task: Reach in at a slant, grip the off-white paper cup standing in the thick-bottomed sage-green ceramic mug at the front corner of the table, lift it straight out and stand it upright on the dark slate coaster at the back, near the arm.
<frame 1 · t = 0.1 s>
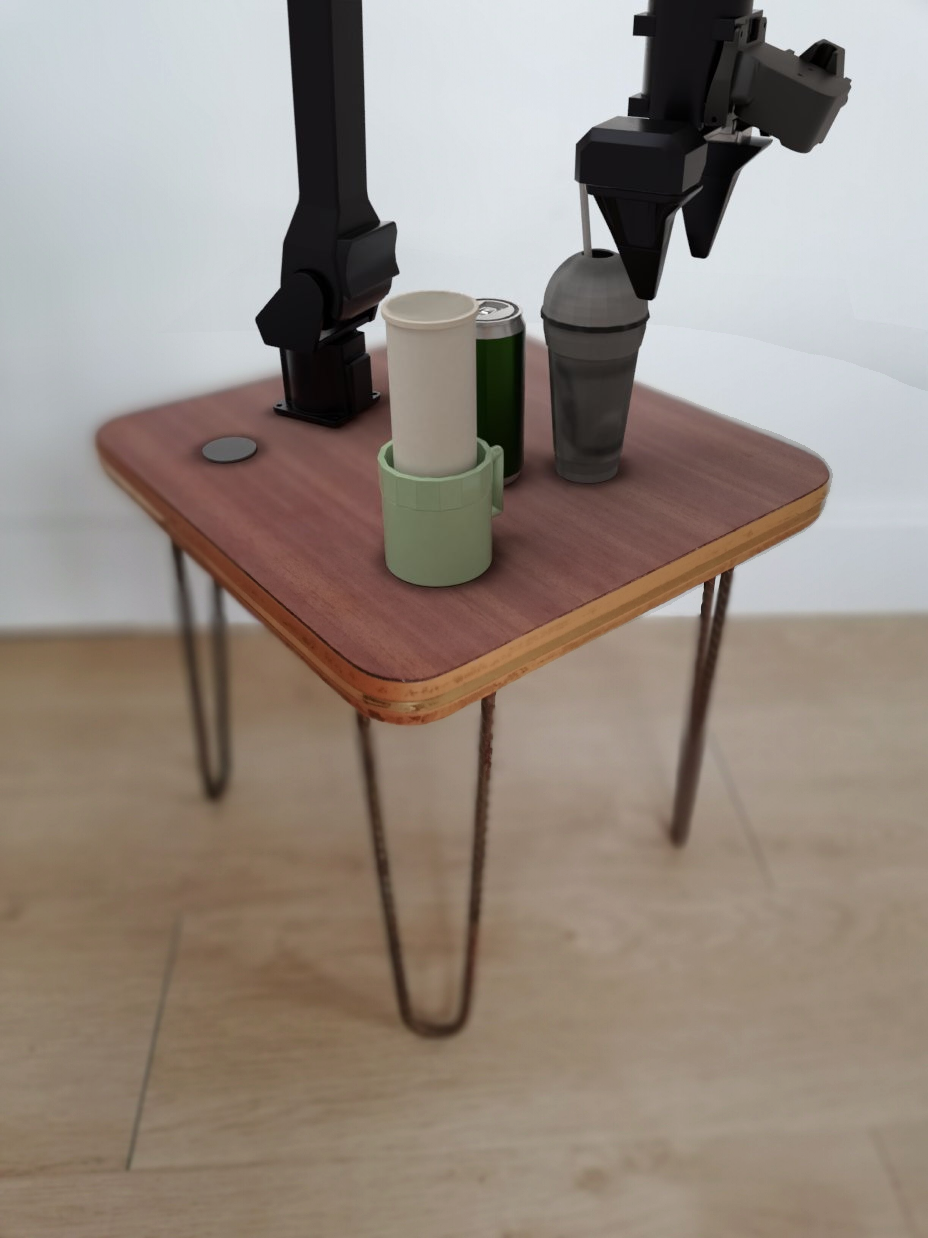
hand: (674, 277, 68), 15 cm above the table, tool pointing down, fingers open, 9 cm apart
paper cup: (430, 305, 60), point 16 cm above the table, touching mug
beer can: (486, 474, 79), on the table
coaster: (229, 450, 82), on the table
beverage cup: (586, 470, 79), on the table
mug: (438, 557, 69), on the table
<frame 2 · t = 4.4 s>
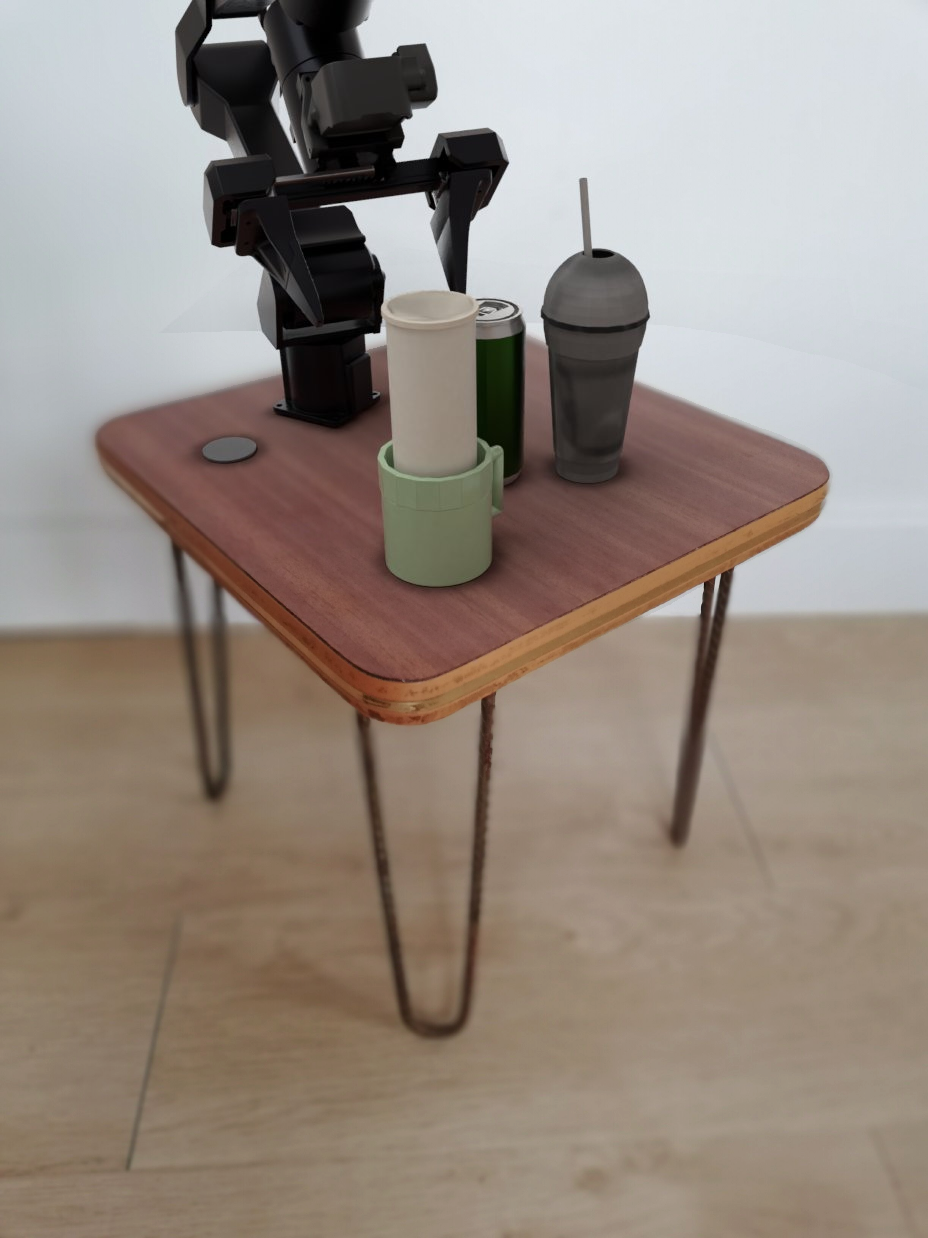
hand: (392, 312, 67), 13 cm above the table, tool tilted 45°, fingers open, 9 cm apart
nothing on the table moved.
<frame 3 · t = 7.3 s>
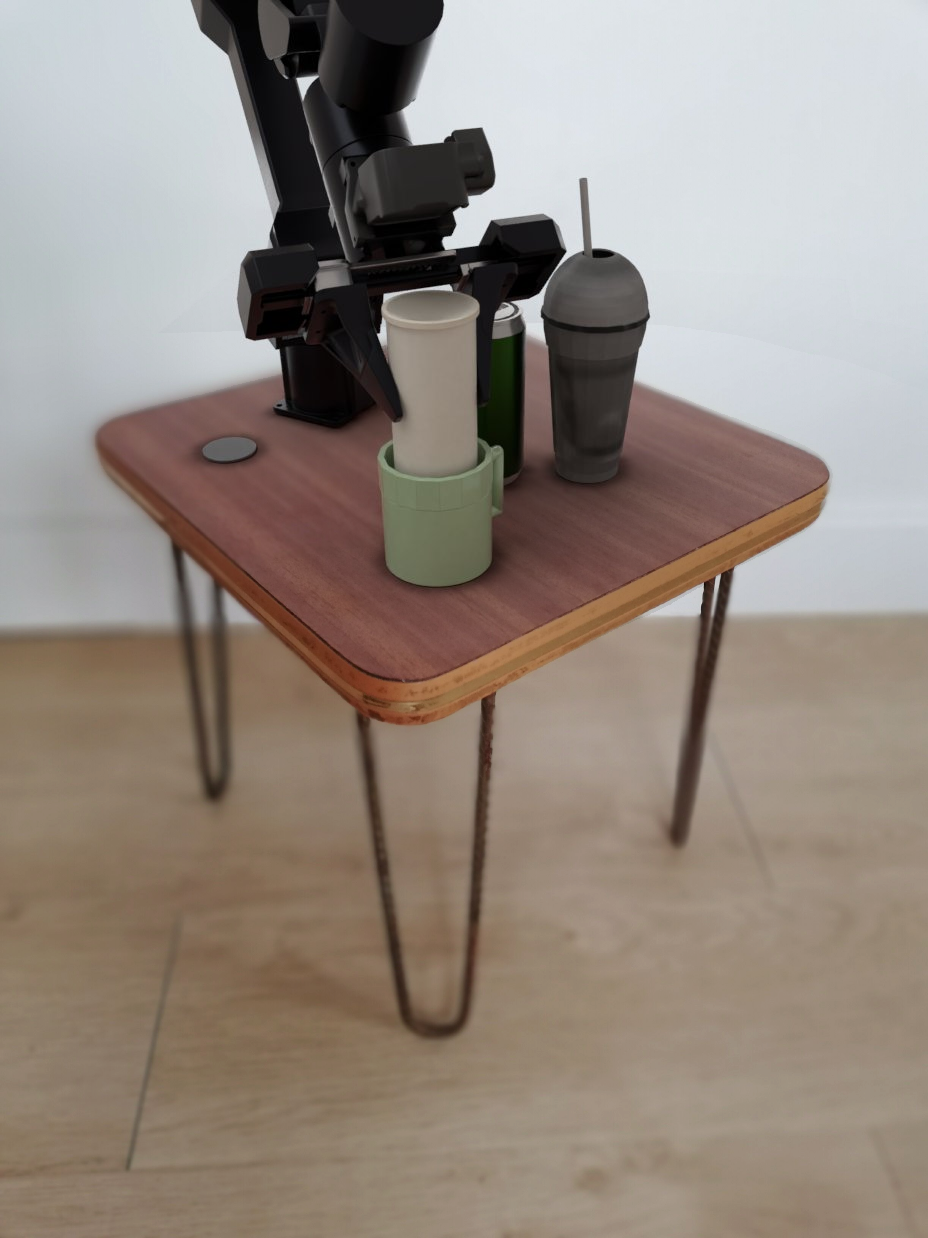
hand: (441, 411, 62), 11 cm above the table, tool tilted 45°, fingers closed on paper cup, 5 cm apart
paper cup: (430, 305, 60), point 16 cm above the table, touching gripper, mug
everything else where it was.
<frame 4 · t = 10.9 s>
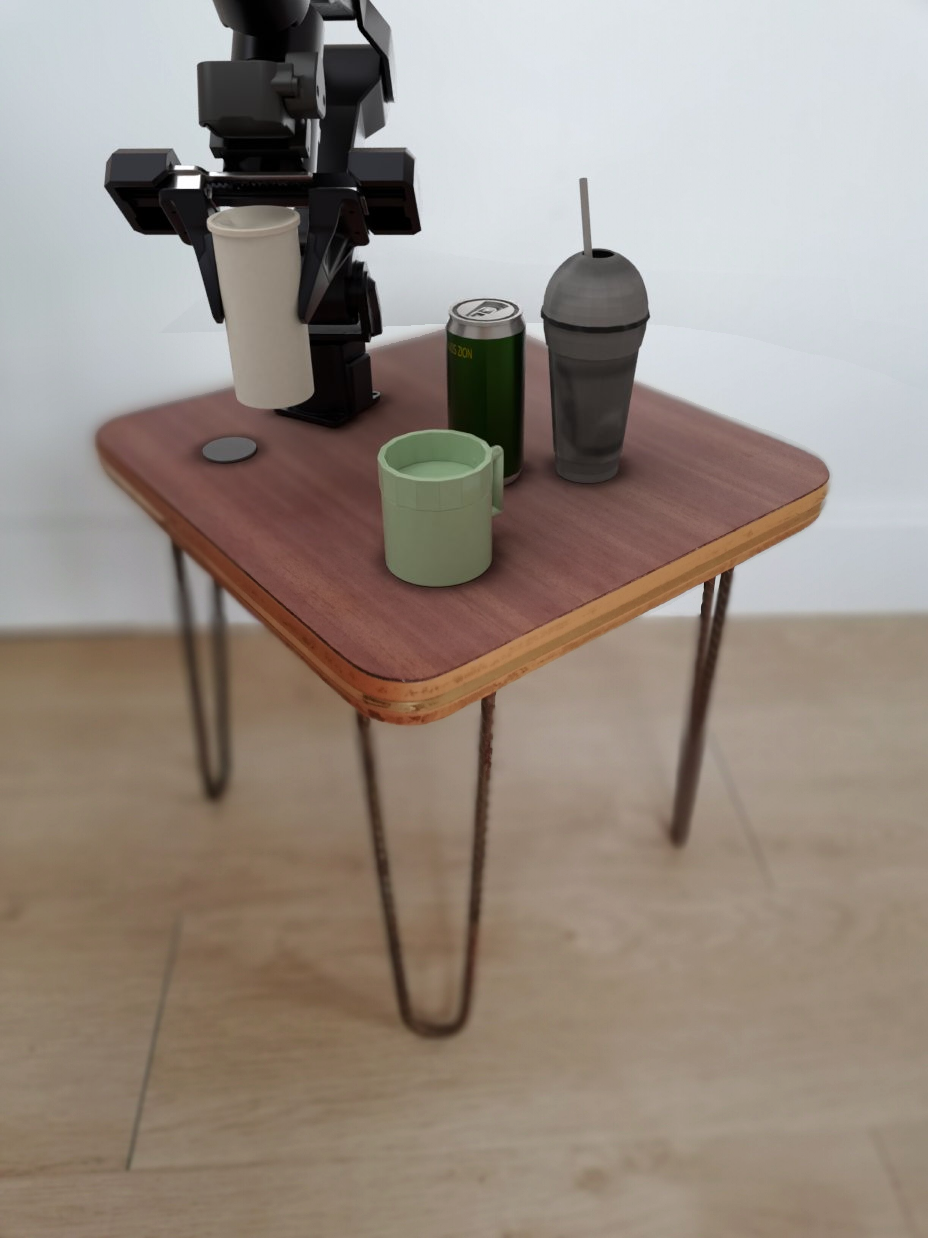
hand: (259, 320, 66), 14 cm above the table, tool tilted 45°, fingers closed on paper cup, 5 cm apart
paper cup: (253, 217, 64), point 19 cm above the table, touching gripper
everything else where it was.
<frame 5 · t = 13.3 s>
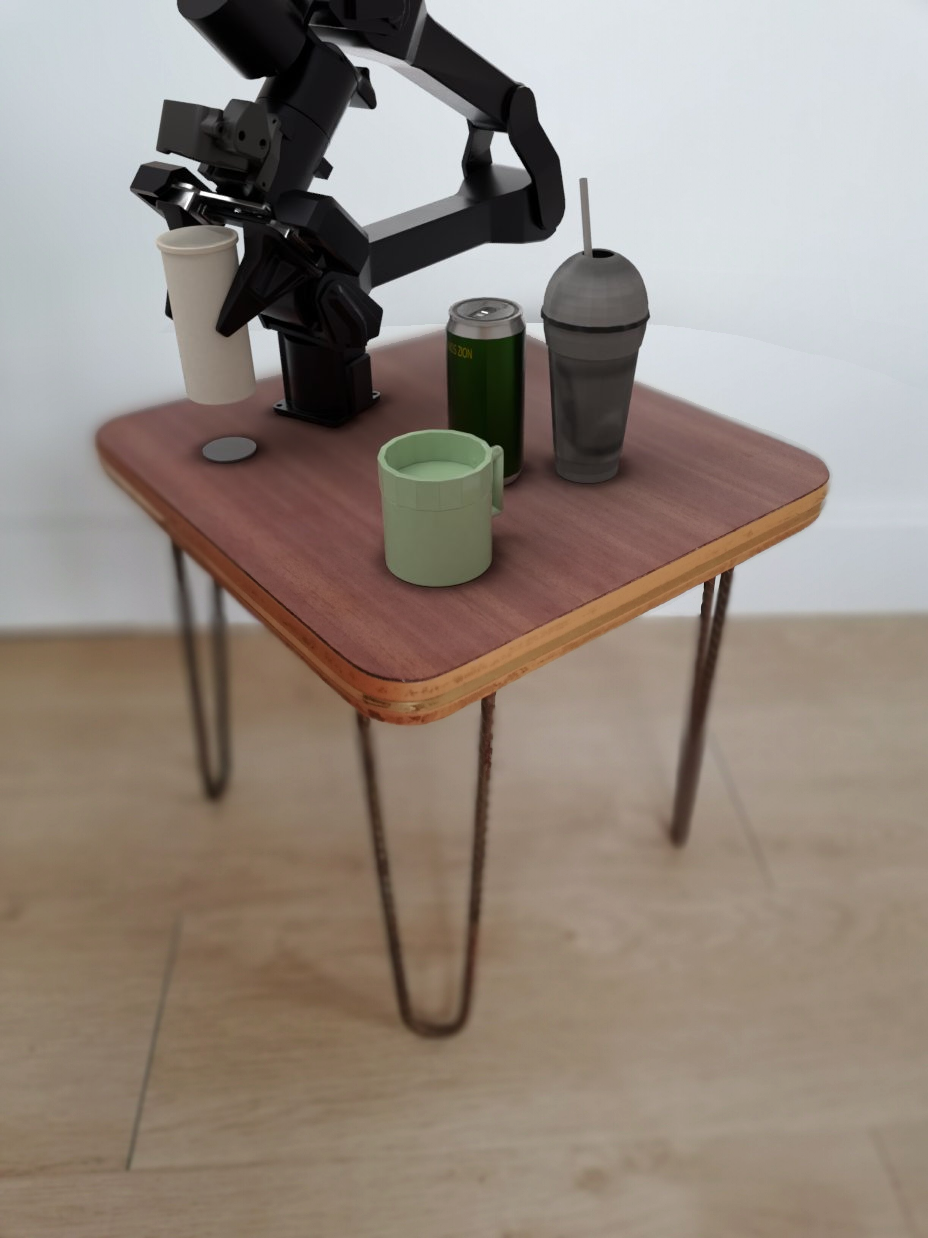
hand: (195, 326, 75), 10 cm above the table, tool tilted 45°, fingers closed on paper cup, 5 cm apart
paper cup: (197, 236, 72), point 16 cm above the table, touching gripper
everything else where it was.
when the fingers open (6 cm above the table, at t = 14.8 s): paper cup moves 1 cm, resting on coaster.
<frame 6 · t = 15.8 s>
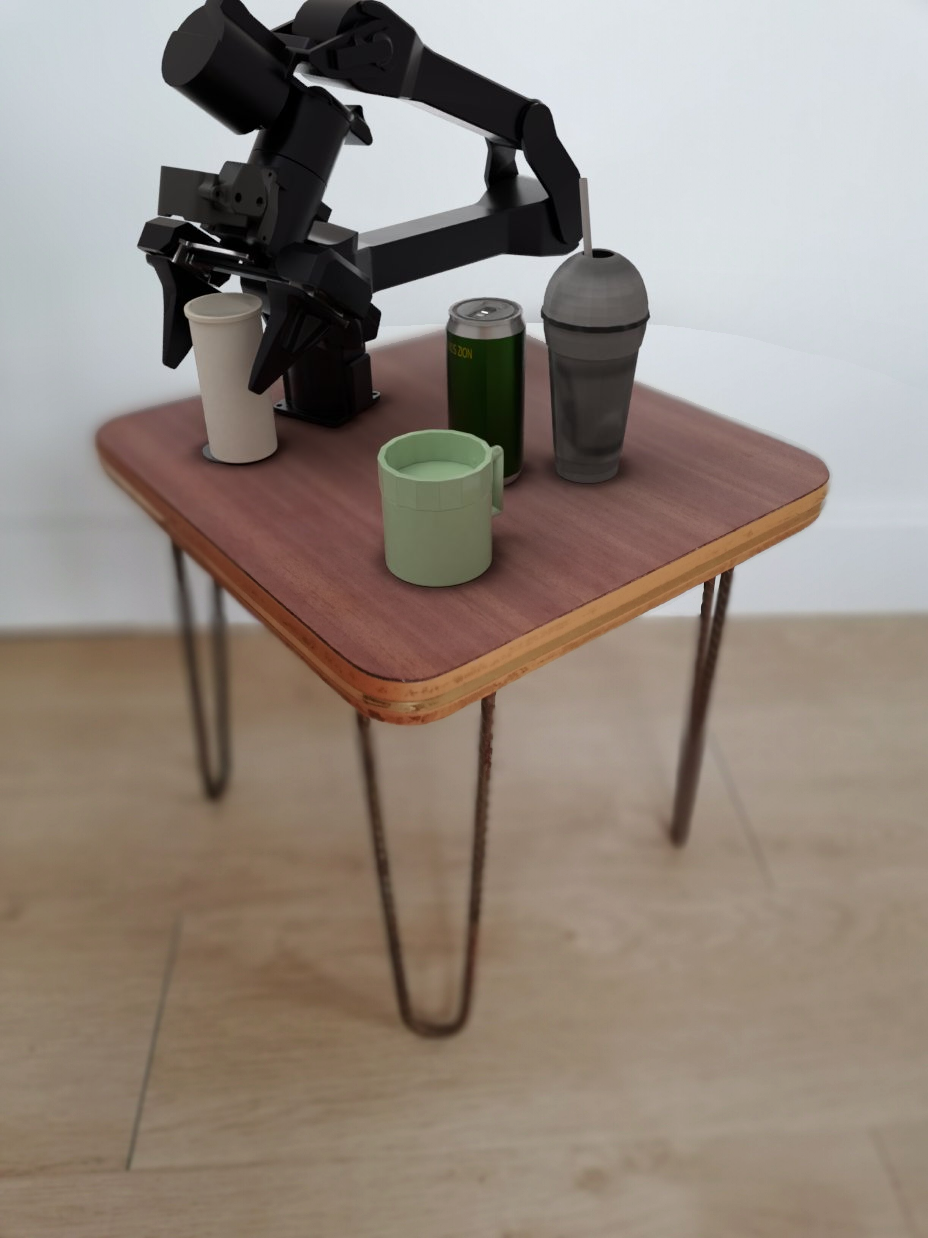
hand: (209, 379, 77), 6 cm above the table, tool tilted 40°, fingers open, 9 cm apart
paper cup: (223, 304, 76), point 11 cm above the table, touching coaster
everything else where it was.
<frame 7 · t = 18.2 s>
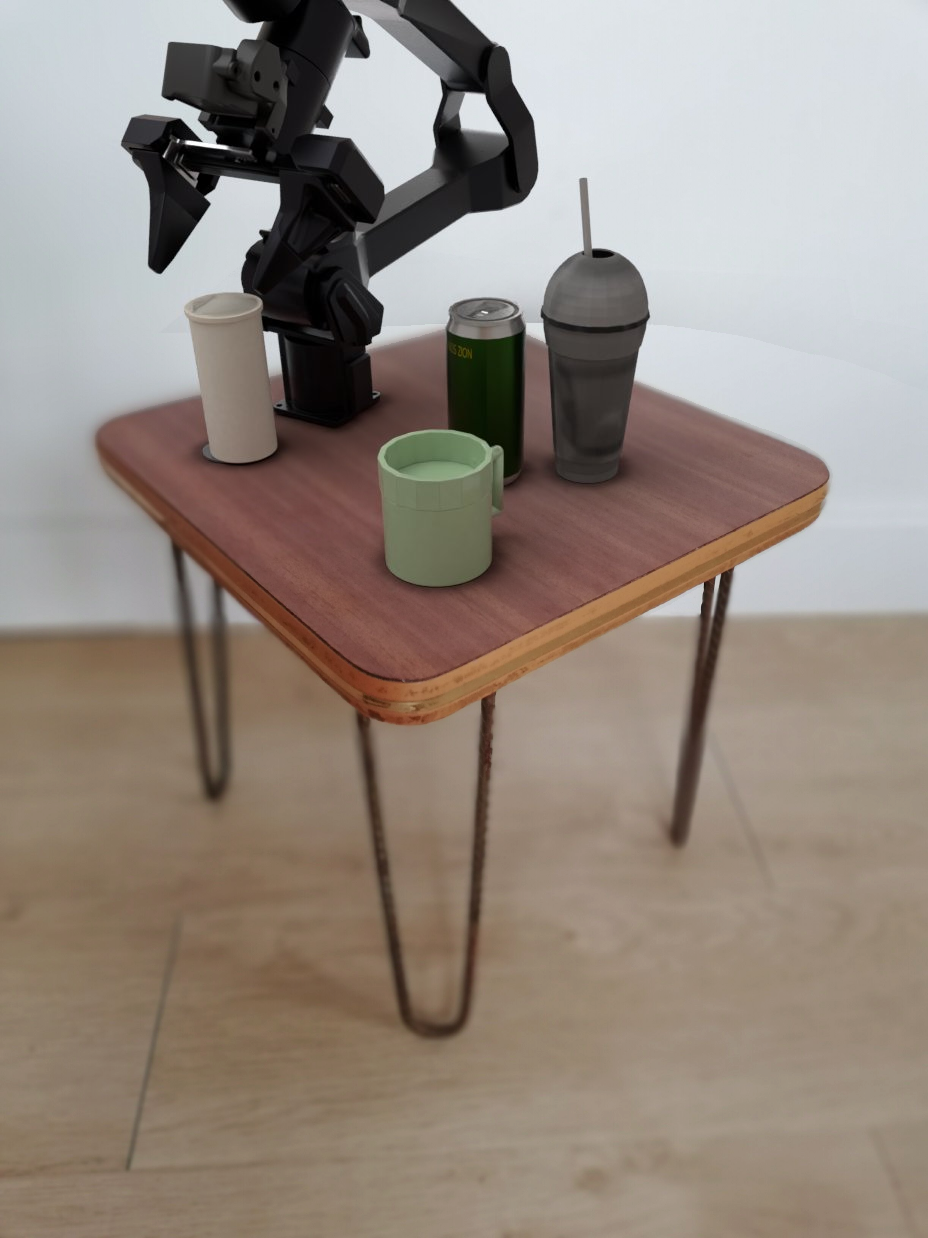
hand: (204, 280, 72), 14 cm above the table, tool tilted 45°, fingers open, 9 cm apart
nothing on the table moved.
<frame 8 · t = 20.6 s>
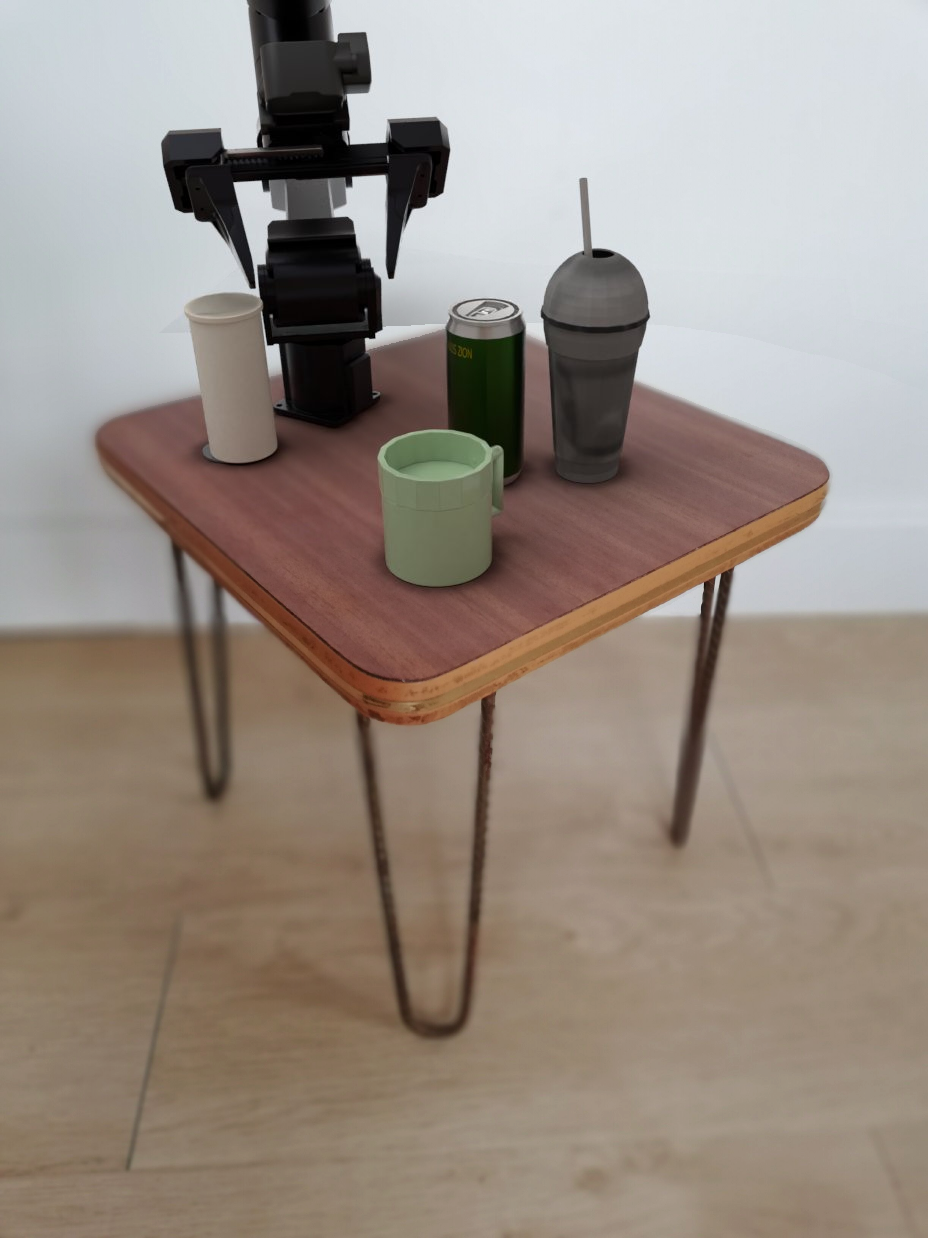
hand: (322, 280, 72), 14 cm above the table, tool tilted 45°, fingers open, 9 cm apart
nothing on the table moved.
at the end: paper cup 1.2 cm off-centre on the coaster, point 11.2 cm above the coaster's base; paper cup tilted 0° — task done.
